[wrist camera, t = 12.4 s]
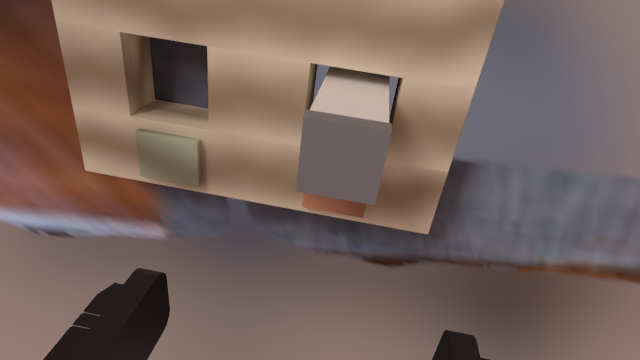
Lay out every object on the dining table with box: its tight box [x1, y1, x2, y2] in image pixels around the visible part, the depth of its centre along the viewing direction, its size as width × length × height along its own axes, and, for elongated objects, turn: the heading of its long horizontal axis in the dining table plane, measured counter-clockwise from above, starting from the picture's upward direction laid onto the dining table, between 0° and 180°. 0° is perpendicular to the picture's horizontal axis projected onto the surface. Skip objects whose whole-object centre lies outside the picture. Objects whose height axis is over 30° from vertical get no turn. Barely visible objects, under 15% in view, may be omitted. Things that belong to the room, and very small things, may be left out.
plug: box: [296, 66, 392, 205], centre depth 25 cm, size 4×4×10 cm
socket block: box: [51, 0, 504, 234], centre depth 27 cm, size 16×26×4 cm, turn 83°
